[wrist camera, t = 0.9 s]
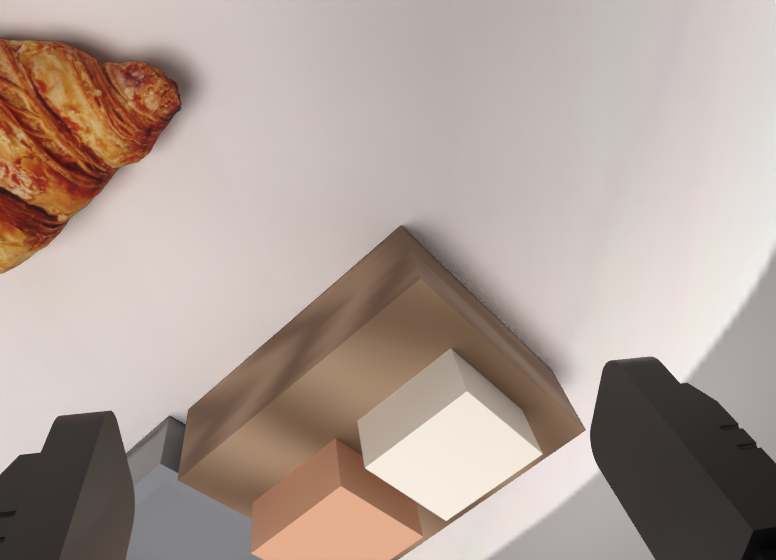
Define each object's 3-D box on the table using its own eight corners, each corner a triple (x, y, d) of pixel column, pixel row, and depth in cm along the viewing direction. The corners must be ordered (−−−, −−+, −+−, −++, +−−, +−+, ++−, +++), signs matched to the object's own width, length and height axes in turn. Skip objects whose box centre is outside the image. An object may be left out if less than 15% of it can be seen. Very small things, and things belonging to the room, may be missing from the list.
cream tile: (450, 348, 30) (466, 391, 28) (522, 410, 33) (543, 454, 30) (357, 421, 32) (364, 468, 29) (433, 474, 35) (446, 521, 32)
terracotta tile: (335, 438, 32) (340, 486, 30) (412, 489, 35) (423, 536, 32) (252, 502, 34) (251, 553, 31) (332, 546, 36) (337, 596, 34)
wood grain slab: (400, 225, 32) (420, 278, 28) (551, 370, 39) (585, 430, 35) (188, 410, 36) (177, 480, 32) (358, 511, 43) (367, 580, 39)
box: (169, 415, 36) (160, 463, 33) (352, 522, 43) (358, 569, 40) (20, 545, 40) (0, 599, 37) (212, 624, 47) (209, 673, 44)
